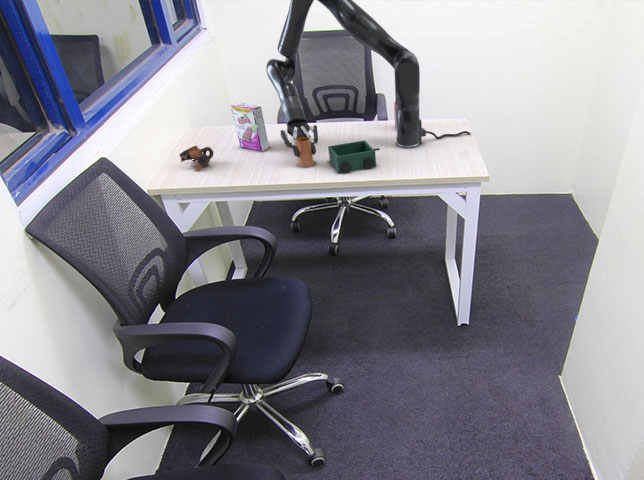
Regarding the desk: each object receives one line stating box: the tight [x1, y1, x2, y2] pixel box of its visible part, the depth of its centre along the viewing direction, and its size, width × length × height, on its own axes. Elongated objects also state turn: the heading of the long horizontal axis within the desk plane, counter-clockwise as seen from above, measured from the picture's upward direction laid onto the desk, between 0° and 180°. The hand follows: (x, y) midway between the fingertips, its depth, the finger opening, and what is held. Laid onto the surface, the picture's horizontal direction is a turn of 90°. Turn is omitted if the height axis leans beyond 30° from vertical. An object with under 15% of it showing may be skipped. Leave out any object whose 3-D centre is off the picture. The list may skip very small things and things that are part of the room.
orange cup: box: [295, 137, 315, 168], centre depth 189 cm, size 5×5×10 cm
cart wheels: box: [340, 147, 381, 174], centre depth 192 cm, size 18×14×4 cm
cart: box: [327, 139, 377, 174], centre depth 190 cm, size 15×12×6 cm
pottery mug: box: [179, 145, 215, 172], centre depth 191 cm, size 12×10×8 cm
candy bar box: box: [230, 102, 270, 152], centre depth 200 cm, size 11×5×16 cm, turn 65°
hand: (306, 155), depth 188 cm, fingers closed on orange cup, 5 cm apart
